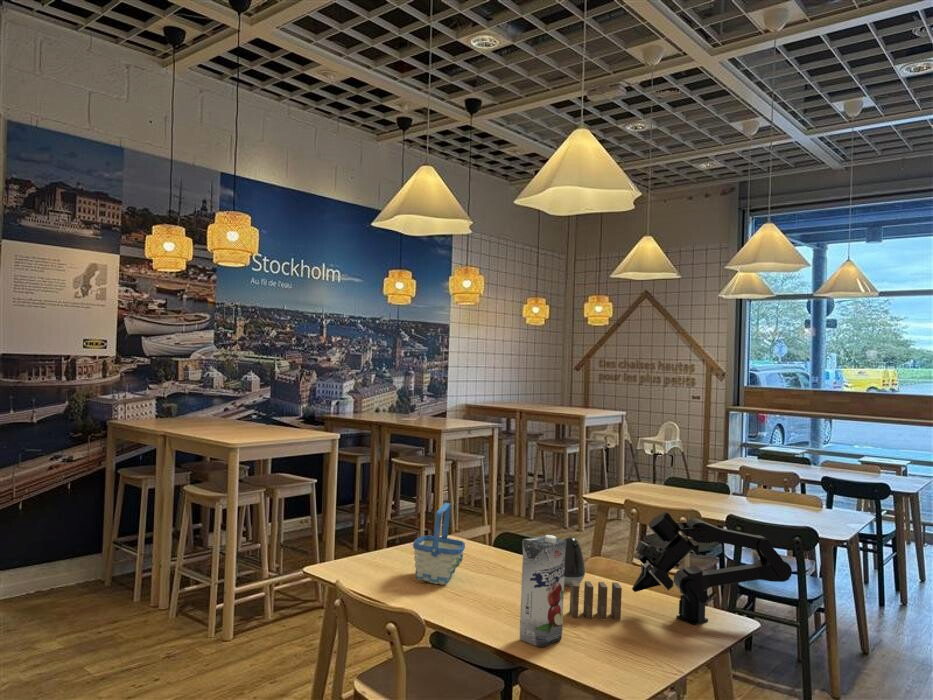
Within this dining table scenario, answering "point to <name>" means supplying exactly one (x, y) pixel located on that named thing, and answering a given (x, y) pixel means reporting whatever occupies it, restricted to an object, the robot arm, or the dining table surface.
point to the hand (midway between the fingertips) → (633, 590)
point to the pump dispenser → (573, 562)
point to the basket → (438, 552)
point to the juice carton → (542, 590)
